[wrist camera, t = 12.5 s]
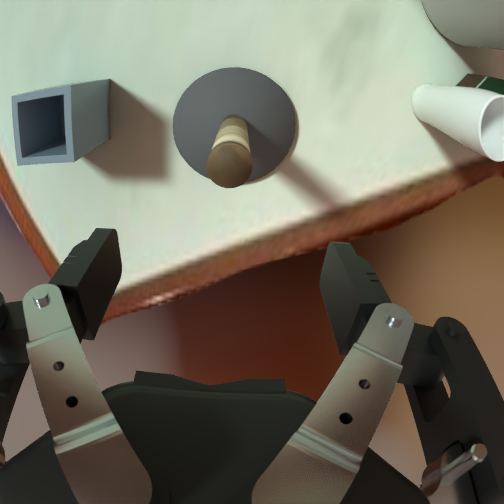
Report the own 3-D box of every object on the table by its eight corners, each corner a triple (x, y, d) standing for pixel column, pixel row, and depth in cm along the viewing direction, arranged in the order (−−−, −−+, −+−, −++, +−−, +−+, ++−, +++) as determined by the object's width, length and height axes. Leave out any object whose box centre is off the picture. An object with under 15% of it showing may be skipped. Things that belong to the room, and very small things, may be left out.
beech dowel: (221, 113, 34) (207, 143, 20) (248, 115, 34) (254, 146, 20) (219, 139, 35) (205, 186, 22) (246, 140, 35) (250, 189, 22)
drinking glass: (401, 79, 32) (476, 94, 19) (443, 77, 31) (522, 94, 19) (407, 130, 36) (478, 167, 23) (448, 124, 35) (522, 159, 22)
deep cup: (57, 85, 30) (11, 96, 22) (110, 79, 31) (70, 85, 23) (60, 141, 34) (17, 165, 26) (110, 138, 35) (74, 161, 27)
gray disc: (176, 66, 31) (175, 65, 30) (300, 74, 32) (301, 74, 31) (173, 178, 38) (172, 180, 38) (286, 185, 39) (287, 187, 39)
